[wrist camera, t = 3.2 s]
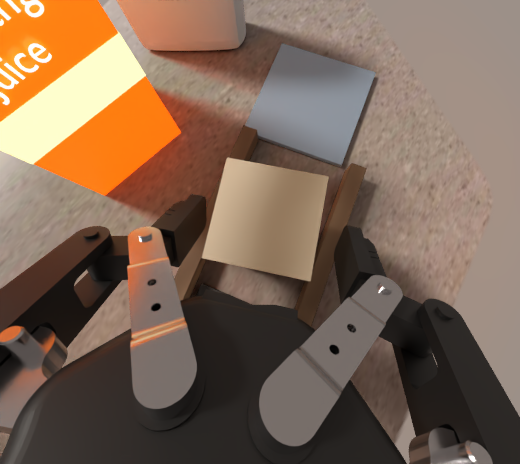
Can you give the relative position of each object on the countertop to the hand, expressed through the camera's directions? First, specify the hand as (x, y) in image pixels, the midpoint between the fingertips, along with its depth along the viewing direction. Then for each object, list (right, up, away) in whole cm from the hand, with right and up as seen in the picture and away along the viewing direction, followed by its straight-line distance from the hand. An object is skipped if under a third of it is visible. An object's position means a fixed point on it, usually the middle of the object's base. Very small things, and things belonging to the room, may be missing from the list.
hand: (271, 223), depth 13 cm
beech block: (0, -1, +5) cm, 6 cm away
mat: (+4, +11, +7) cm, 14 cm away
